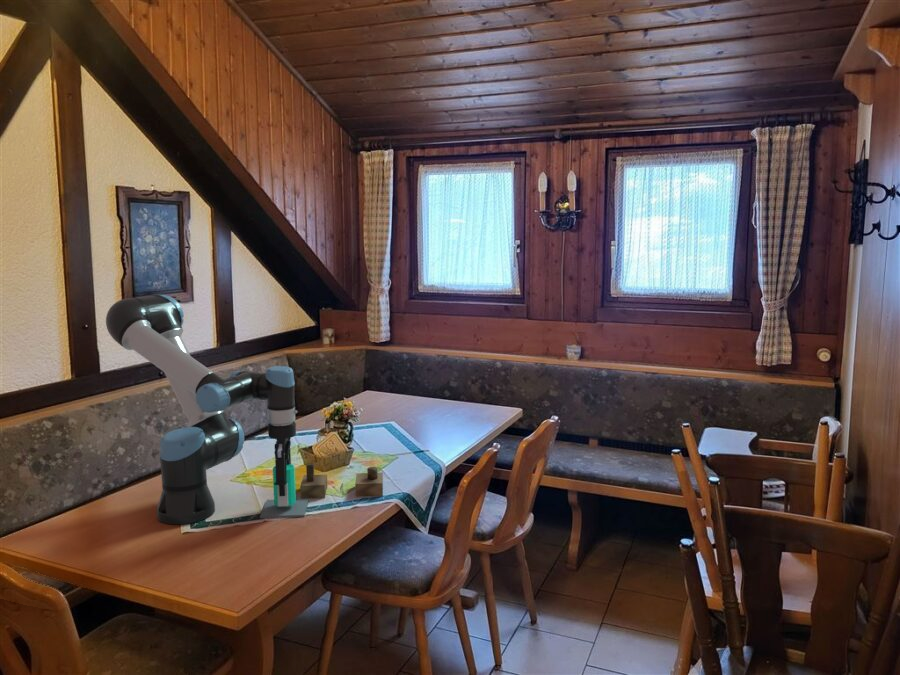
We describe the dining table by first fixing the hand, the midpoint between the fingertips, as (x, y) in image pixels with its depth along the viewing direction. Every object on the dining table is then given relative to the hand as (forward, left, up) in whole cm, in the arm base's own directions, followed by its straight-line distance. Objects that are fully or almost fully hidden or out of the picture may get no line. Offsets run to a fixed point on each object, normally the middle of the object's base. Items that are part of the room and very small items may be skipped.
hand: (284, 501), depth 204 cm
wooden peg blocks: (+15, +12, -2) cm, 19 cm away
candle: (0, 0, -1) cm, 1 cm away
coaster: (0, 0, -2) cm, 2 cm away
